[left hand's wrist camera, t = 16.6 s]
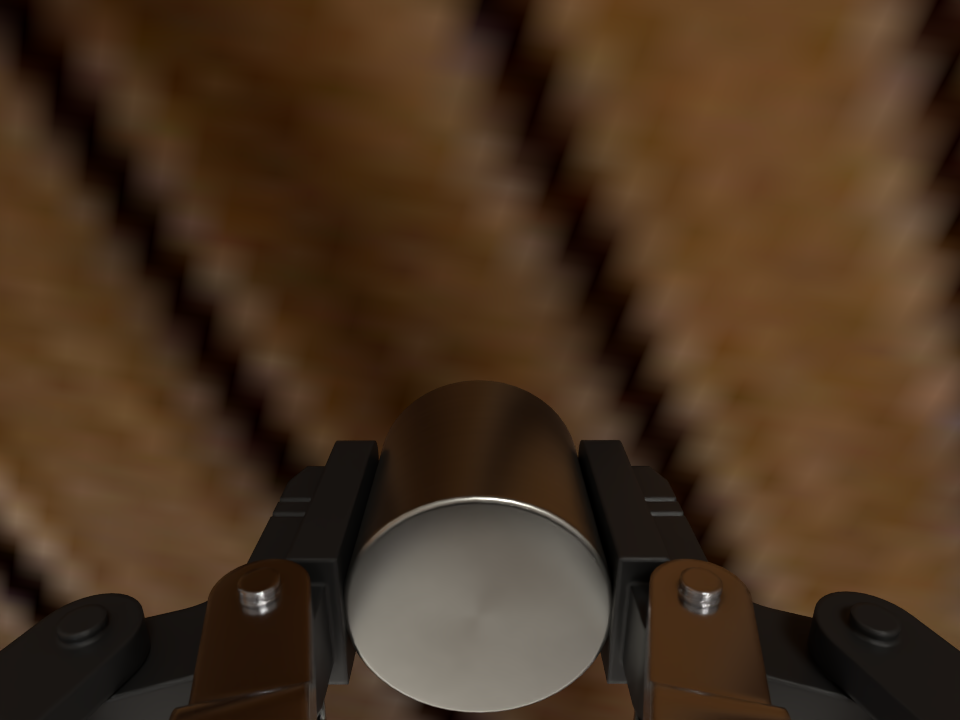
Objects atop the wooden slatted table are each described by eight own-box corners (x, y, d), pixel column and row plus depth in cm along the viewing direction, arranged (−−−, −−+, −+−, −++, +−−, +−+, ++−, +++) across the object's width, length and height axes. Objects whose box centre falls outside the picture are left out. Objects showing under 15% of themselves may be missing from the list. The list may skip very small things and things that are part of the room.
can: (514, 342, 12) (529, 448, 8) (610, 496, 13) (662, 650, 9) (341, 439, 13) (284, 577, 9) (448, 577, 14) (437, 750, 10)
